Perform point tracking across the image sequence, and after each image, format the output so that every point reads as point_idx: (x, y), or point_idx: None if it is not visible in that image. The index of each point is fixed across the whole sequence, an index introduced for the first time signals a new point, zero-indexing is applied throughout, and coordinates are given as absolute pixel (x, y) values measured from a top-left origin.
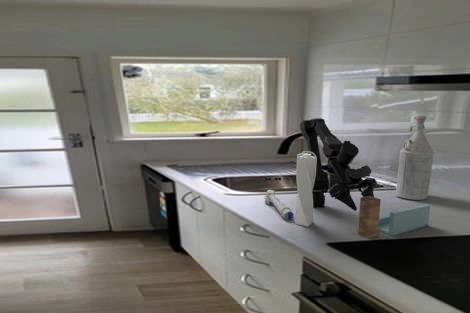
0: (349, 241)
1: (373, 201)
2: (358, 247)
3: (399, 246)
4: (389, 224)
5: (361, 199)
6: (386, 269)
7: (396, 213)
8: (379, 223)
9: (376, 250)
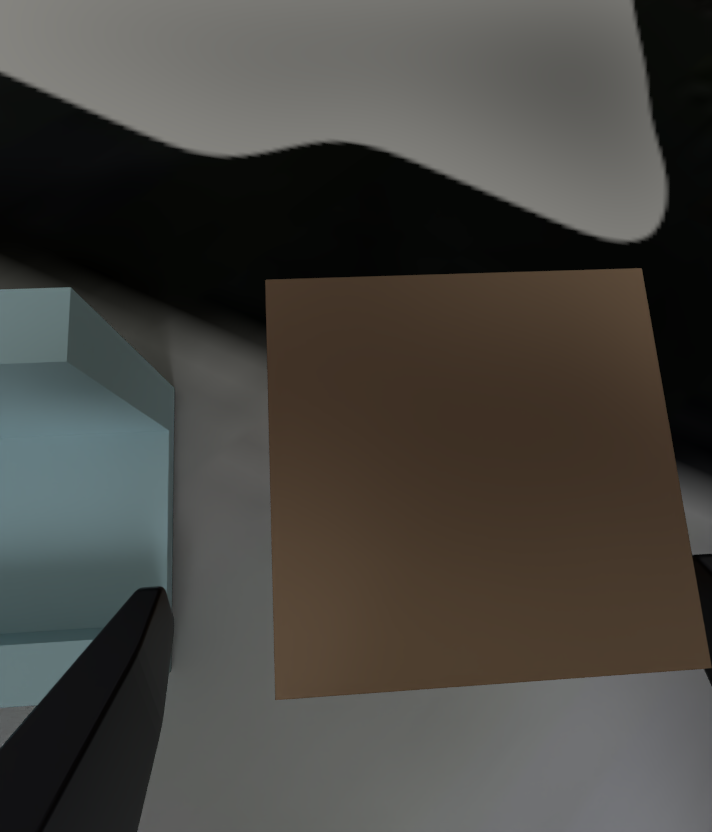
0: None
1: (549, 279)
2: (661, 342)
3: (321, 214)
4: (139, 406)
5: (671, 614)
6: (702, 37)
7: (20, 292)
8: (60, 633)
9: (559, 243)
